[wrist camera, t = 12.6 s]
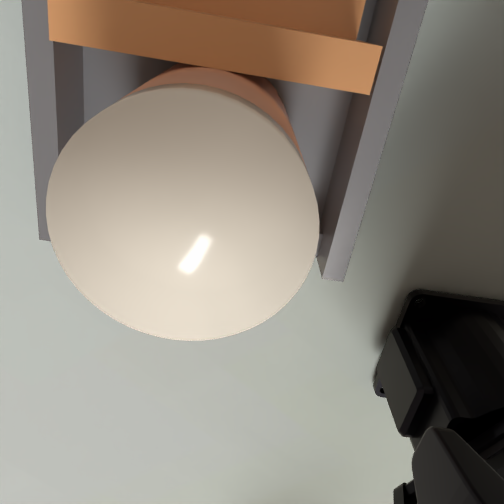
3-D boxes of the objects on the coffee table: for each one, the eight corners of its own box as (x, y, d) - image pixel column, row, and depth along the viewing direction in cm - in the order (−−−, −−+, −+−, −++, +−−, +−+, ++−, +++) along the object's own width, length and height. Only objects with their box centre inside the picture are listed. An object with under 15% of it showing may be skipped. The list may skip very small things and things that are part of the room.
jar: (275, 216, 18) (290, 354, 11) (135, 196, 18) (53, 324, 10) (304, 69, 15) (350, 119, 8) (140, 41, 15) (36, 68, 8)
